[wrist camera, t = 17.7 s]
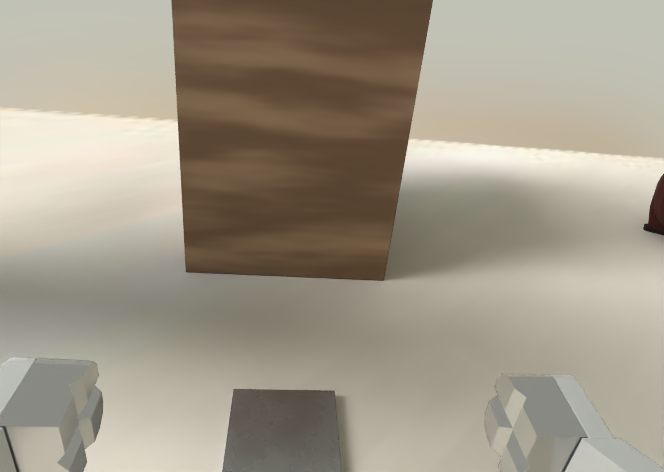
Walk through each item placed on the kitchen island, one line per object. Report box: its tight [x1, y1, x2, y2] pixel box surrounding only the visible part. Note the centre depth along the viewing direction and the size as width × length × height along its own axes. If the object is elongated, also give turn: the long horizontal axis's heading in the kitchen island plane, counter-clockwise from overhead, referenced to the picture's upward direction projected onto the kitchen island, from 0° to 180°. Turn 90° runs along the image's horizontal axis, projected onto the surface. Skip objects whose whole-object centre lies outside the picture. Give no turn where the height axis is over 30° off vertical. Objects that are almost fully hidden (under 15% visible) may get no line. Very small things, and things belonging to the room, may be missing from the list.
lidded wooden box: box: [172, 0, 433, 280], centre depth 43 cm, size 18×18×26 cm
